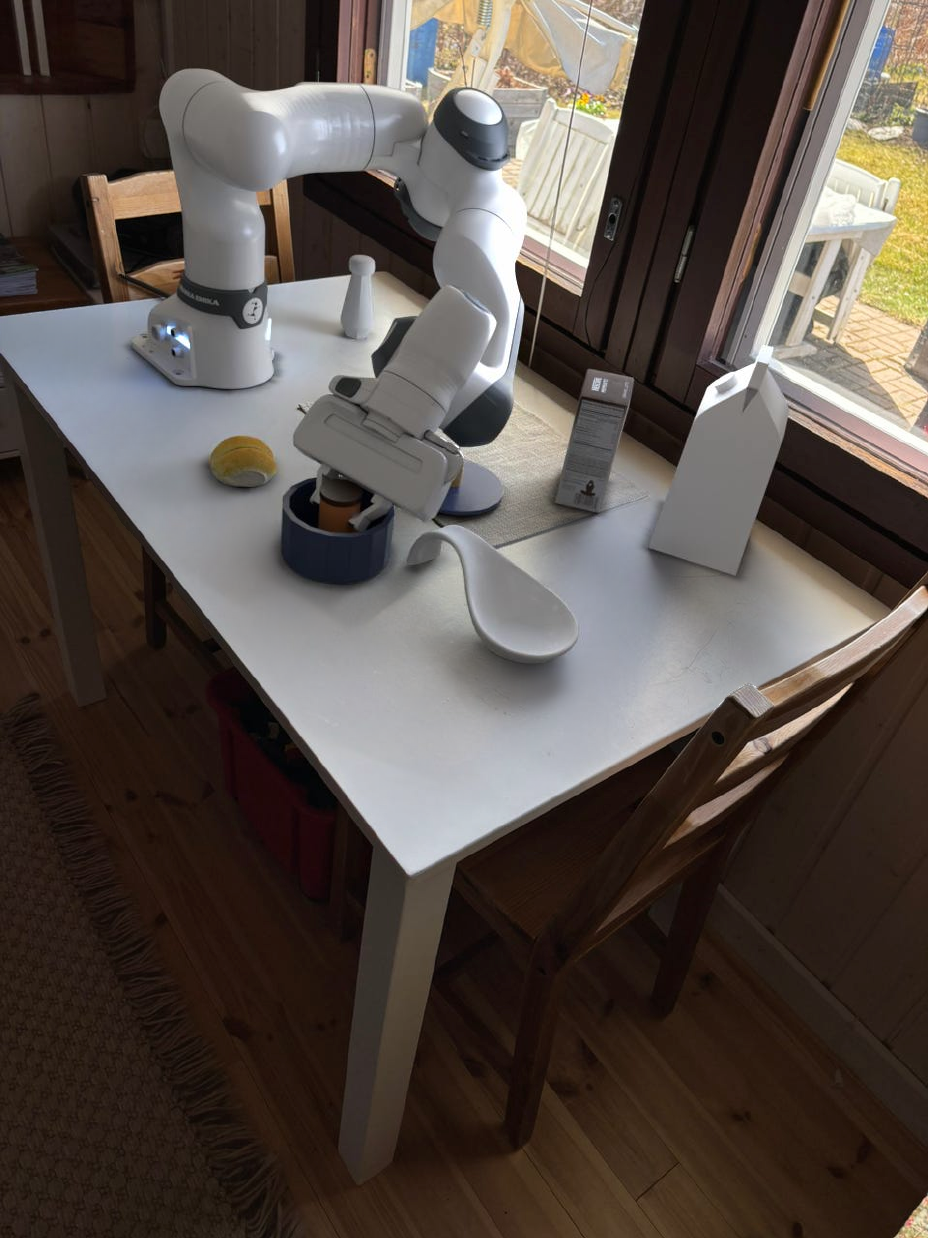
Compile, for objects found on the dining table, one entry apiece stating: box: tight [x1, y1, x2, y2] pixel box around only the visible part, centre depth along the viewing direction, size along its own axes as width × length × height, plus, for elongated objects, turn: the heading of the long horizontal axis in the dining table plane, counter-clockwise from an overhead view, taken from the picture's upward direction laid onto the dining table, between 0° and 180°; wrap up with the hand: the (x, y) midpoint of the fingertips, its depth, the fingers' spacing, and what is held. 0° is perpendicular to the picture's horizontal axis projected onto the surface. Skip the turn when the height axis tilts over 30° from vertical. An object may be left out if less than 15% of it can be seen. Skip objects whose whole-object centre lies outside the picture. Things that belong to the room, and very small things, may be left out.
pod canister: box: [318, 479, 363, 533], centre depth 109 cm, size 5×5×8 cm
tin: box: [280, 475, 396, 586], centre depth 110 cm, size 13×13×7 cm
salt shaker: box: [340, 254, 376, 340], centre depth 158 cm, size 6×6×13 cm
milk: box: [647, 344, 790, 576], centre depth 118 cm, size 12×12×26 cm
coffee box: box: [554, 368, 635, 514], centre depth 126 cm, size 9×6×16 cm
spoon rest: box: [406, 524, 580, 664], centre depth 105 cm, size 24×12×7 cm, turn 40°
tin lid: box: [437, 454, 504, 516], centre depth 125 cm, size 14×14×5 cm
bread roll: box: [208, 435, 278, 488], centre depth 122 cm, size 8×9×4 cm
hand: (335, 517), depth 108 cm, fingers closed on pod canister, 4 cm apart
